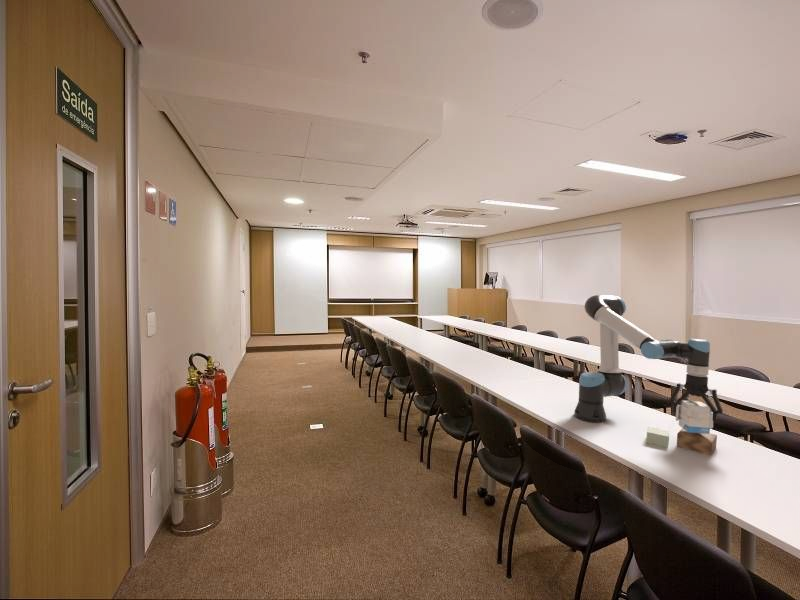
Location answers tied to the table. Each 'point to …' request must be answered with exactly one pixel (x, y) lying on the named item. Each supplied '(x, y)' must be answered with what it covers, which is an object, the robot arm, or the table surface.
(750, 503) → the table surface
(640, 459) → the table surface
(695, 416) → the ink box
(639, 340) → the robot arm
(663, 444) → the sage block
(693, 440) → the walnut block
